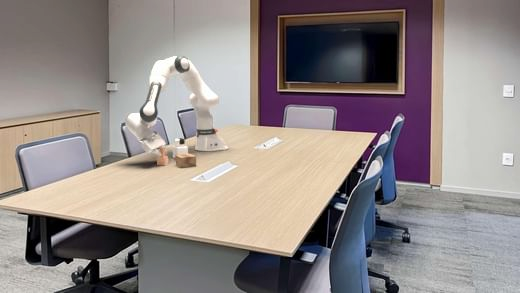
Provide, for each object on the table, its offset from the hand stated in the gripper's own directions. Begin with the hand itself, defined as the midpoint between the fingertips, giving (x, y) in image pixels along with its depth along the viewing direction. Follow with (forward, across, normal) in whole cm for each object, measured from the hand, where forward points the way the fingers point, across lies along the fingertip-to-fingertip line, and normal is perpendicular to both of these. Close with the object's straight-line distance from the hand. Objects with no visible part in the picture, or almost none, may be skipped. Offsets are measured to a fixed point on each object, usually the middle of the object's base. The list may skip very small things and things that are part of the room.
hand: (163, 154), depth 264 cm
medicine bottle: (+6, +20, +3) cm, 21 cm away
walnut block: (+14, 0, -5) cm, 15 cm away
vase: (+4, 0, +5) cm, 6 cm away
